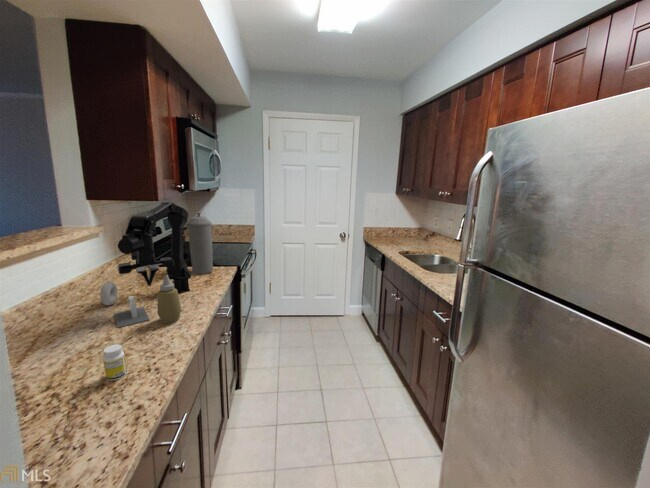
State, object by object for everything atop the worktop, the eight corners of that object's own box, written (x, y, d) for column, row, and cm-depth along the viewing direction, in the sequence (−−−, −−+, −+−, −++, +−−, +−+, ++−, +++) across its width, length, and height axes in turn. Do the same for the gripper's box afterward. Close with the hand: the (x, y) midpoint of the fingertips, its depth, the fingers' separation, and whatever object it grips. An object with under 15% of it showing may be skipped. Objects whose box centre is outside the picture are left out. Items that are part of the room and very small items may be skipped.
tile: (137, 316, 113) (136, 302, 112) (132, 317, 112) (130, 303, 111) (135, 309, 119) (133, 295, 118) (129, 310, 118) (128, 296, 117)
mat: (143, 307, 122) (143, 307, 122) (149, 320, 111) (149, 319, 111) (114, 314, 116) (114, 313, 116) (117, 328, 105) (117, 327, 105)
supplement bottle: (113, 370, 82) (109, 343, 81) (130, 369, 83) (127, 343, 81) (101, 381, 78) (97, 353, 76) (120, 381, 78) (116, 353, 76)
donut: (109, 309, 120) (106, 286, 118) (100, 309, 119) (96, 286, 117) (120, 299, 130) (117, 278, 128) (111, 300, 129) (108, 278, 127)
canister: (206, 267, 179) (202, 210, 171) (219, 271, 171) (215, 212, 164) (186, 272, 168) (181, 212, 161) (198, 277, 161) (194, 213, 154)
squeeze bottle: (186, 317, 115) (183, 273, 111) (170, 326, 107) (165, 280, 103) (170, 314, 117) (166, 271, 113) (153, 323, 110) (148, 277, 106)
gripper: (167, 241, 126) (170, 275, 129) (114, 246, 114) (119, 284, 118) (173, 246, 118) (176, 283, 121) (116, 252, 106) (122, 293, 109)
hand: (149, 285), depth 117 cm, fingers closed
